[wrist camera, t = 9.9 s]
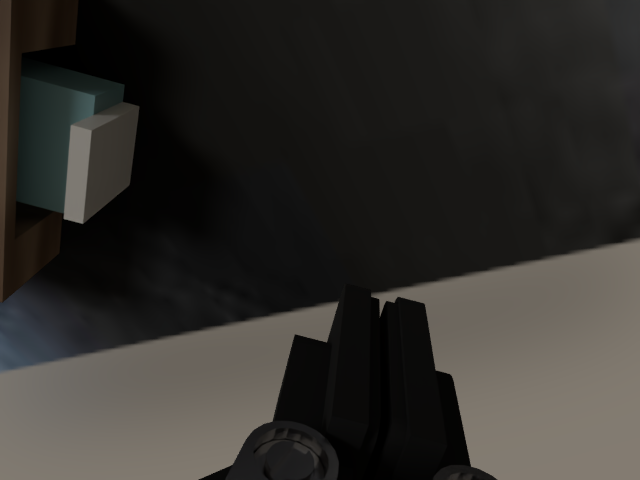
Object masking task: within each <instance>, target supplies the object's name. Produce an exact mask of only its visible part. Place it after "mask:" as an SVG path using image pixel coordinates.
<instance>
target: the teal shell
mask: <svg viewBox="0 0 640 480" xmlns="http://www.w3.org/2000/svg"><path fill="white" fill-rule="evenodd" d="M124 86H125V85H124V84H120V83H116V82H113V81H109V80H105V79H102V78H98V77H94V76H91V75H87V74H83V73H80V72H76V71H72V70H69V69H65V68H61V67H58V66H54V65H50V64H47V63H43V62H39V61H36V60H32V59H28V58H25V57H22V61H21V87H20V113H19V139H18V166H17V192H16V201H17V202H21V203H25V204H29V205H33V206H37V207H41V208H45V209H48V210H52V211H56V212H60V213H64V219H66V220H70V221H74V222H78V223H82V224H83V223H85V222H86V221H87V220H88V219H89V218H91V217H92V216H93V215H94V214H95V213H97V212H98V211H99V210H100V209H101V208H103V207H104V206H105V205H106V204H107V203H109V202H110V201H111V200H112V199H113V198H115V197H116V196H117V195H118V194H119V193H121V192H122V191H123V190H124V189H125V188H127V187H128V186H129V185H130V178H131V170H132V162H133V154H134V146H135V139H136V131H137V123H138V115H139V107H140V106H136V105H133V104H129V103H125V102H123V95H124Z"/></svg>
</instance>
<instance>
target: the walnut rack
mask: <svg viewBox="0 0 640 480" xmlns="http://www.w3.org/2000/svg"><path fill="white" fill-rule="evenodd" d="M78 1H79V0H0V302H2V303H3V302H4V301H5V300H6V299H7V298H8V297H9V296H11V295H12V294H13V293H14V292H15V291H16V290H18V289H19V288H20V287H21V286H22V285H23V284H24V283H26V282H27V281H28V280H29V279H30V278H31V277H33V276H34V275H35V274H36V273H37V272H38V271H39V270H41V269H42V268H43V267H44V266H45V265H46V264H48V263H49V262H50V261H51V260H52V259H53V258H54V257H56V256H57V255H58V254H59V252H60V239H61V226H62V213H60V212H56V211H52V210H48V209H45V208H41V207H37V206H33V205H29V204H25V203H21V202H17V201H16V192H17V166H18V139H19V113H20V87H21V61H22V53H26V52H32V51H38V50H44V49H50V48H56V47H63V46H69V45H75V41H76V27H77V14H78Z"/></svg>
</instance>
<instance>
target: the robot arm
mask: <svg viewBox="0 0 640 480" xmlns="http://www.w3.org/2000/svg"><path fill="white" fill-rule="evenodd" d="M379 311H380V310H379V299H377V298H373V297H371V290H370V289H366V288H362V287H358V286H354V285H350V284H346V283H345V285H344V287H343V290H342V293H341V297H340V300H339V303H338V307H337V310H336V314H335V317H334V321H333V324H332V328H331V331H330V334H329V338H328V341H327V343H326V342H323V341H318V340H315V339H311V338H307V337H303V336H299V335H295V336H294V340H293V344H292V347H291V351H290V355H289V359H288V362H287V366H286V370H285V374H284V378H283V382H282V386H281V390H280V393H279V397H278V402H277V405H276V410H275V414H274V418H273V422H270V423H266V424H263V425H262V426H260V427H258V428H256V429H255V430H254V431H253V432H252V433H251V434H250V435H249V437H248V438H247V439H246V441H245V443H244V444H243V446H242V448H241V450H240V452H239V454H238V456H237V458H236V460H235V462H234V463H233V465H231V466H229V467H227V468H225V469H222V470H220V471H218V472H215V473H213V474H211V475H209V476H206V477H204V478H202V479H199V480H497V479H496V478H494V477H493V476H492V475H490V474H488V473H486V472H484V471H482V470H480V469H477V468H473V467H471V464H470V459H469V455H468V450H467V445H466V440H465V435H464V430H463V425H462V420H461V415H460V411H459V405H458V401H457V396H456V391H455V386H454V381H453V378H452V376H451V375H450V374H447V373H444V372H440V371H436V370H435V364H434V358H433V352H432V345H431V340H430V333H429V327H428V321H427V315H426V309H425V304H424V303H420V302H416V301H412V300H408V299H405V298H401V297H398V298H397V299H396V301H395V303H393V302H388V301H386V303H385V305H384V308H383V310H382V313H381V316H380V312H379Z"/></svg>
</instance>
